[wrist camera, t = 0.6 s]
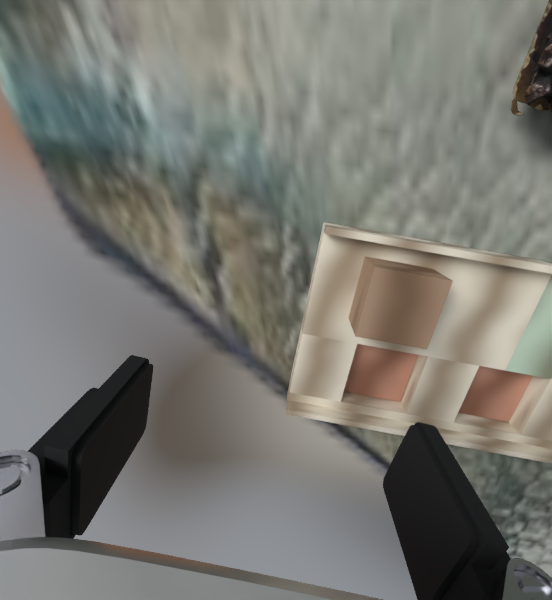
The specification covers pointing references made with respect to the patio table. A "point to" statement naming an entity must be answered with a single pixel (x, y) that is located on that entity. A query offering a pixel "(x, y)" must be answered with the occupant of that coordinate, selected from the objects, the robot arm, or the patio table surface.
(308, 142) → the patio table surface
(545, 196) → the patio table surface
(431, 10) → the patio table surface
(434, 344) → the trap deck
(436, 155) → the patio table surface
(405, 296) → the walnut block
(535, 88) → the pine cone
